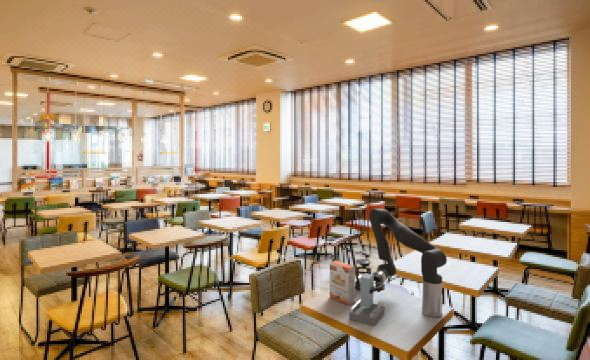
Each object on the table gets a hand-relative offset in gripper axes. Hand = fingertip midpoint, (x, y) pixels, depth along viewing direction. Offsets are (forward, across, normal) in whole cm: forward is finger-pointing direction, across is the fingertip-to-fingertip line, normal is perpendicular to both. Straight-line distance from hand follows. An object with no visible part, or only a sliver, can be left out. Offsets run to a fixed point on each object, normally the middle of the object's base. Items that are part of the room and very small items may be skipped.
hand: (365, 290), depth 174 cm
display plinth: (-2, 0, +14) cm, 15 cm away
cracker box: (-13, -19, +15) cm, 27 cm away
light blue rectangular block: (-2, 0, +8) cm, 8 cm away
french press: (-35, -15, +15) cm, 41 cm away
